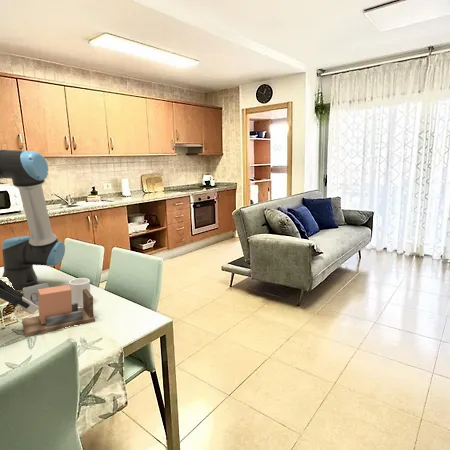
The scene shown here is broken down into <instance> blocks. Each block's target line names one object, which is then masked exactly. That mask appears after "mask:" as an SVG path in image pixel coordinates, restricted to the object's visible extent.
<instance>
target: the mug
mask: <svg viewBox="0 0 450 450" xmlns="http://www.w3.org/2000/svg"><path fill="white" fill-rule="evenodd" d="M68 285H69V287H70V289H71V297H72V303H76V302H77V303H78V308H80V307H83V289H87V290H88V291H89V292H90V293H91V280H90V279H89V278H87V277H77V278H73V279H71V280H69V282H68Z"/></svg>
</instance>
